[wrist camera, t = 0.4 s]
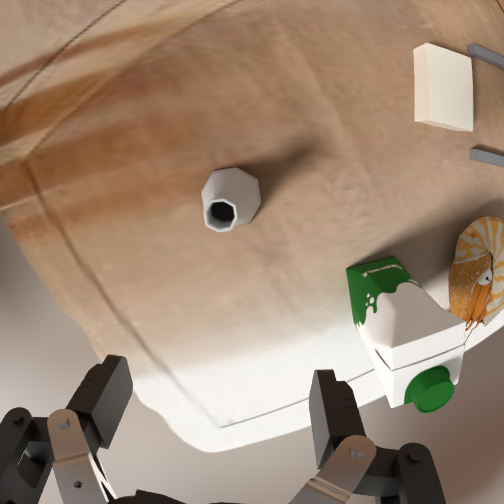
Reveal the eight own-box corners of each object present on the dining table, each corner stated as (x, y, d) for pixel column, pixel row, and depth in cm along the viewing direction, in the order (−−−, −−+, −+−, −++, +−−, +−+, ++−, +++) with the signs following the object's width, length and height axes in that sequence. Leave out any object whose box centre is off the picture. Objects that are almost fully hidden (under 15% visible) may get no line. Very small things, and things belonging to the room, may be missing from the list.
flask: (267, 172, 36) (269, 182, 27) (255, 231, 39) (253, 260, 29) (206, 162, 36) (187, 168, 27) (197, 220, 39) (176, 246, 29)
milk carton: (347, 321, 43) (391, 429, 24) (337, 262, 40) (392, 359, 21) (403, 304, 42) (470, 397, 23) (399, 246, 39) (485, 324, 20)
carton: (412, 50, 30) (426, 42, 27) (455, 62, 30) (470, 58, 27) (413, 121, 34) (428, 120, 30) (456, 131, 34) (472, 131, 30)
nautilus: (441, 348, 45) (384, 307, 43) (520, 250, 37) (473, 192, 36) (458, 377, 38) (399, 338, 36) (547, 269, 30) (504, 205, 28)
